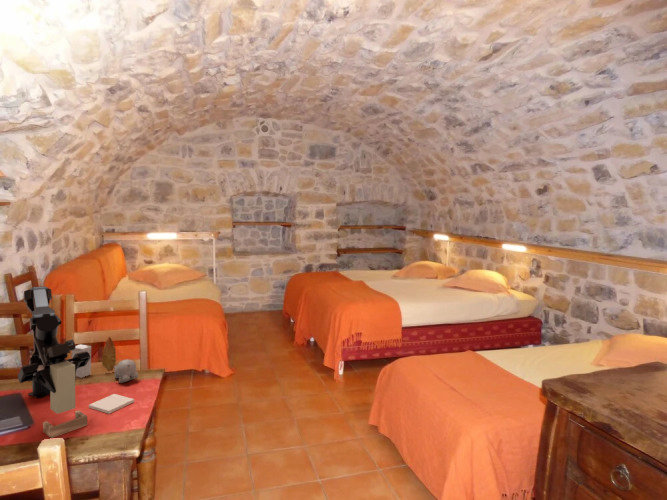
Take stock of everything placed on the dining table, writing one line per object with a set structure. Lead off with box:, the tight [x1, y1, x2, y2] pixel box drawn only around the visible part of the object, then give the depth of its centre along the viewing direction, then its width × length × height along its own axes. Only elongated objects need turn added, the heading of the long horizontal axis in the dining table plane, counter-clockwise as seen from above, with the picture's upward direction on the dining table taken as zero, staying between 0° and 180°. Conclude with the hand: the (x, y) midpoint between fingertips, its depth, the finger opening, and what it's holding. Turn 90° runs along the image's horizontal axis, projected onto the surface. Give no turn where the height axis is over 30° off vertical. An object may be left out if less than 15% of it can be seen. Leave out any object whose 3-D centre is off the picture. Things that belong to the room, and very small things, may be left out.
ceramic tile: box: [88, 393, 135, 415], centre depth 144 cm, size 10×10×1 cm
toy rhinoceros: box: [113, 359, 139, 384], centre depth 166 cm, size 7×12×8 cm, turn 54°
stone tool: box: [101, 336, 117, 372], centre depth 174 cm, size 5×2×15 cm, turn 126°
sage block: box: [49, 361, 76, 415], centre depth 128 cm, size 5×5×14 cm
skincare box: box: [71, 344, 92, 379], centre depth 169 cm, size 6×4×12 cm
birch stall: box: [42, 410, 88, 439], centre depth 128 cm, size 6×10×3 cm, turn 145°
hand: (64, 389), depth 127 cm, fingers closed on sage block, 5 cm apart
